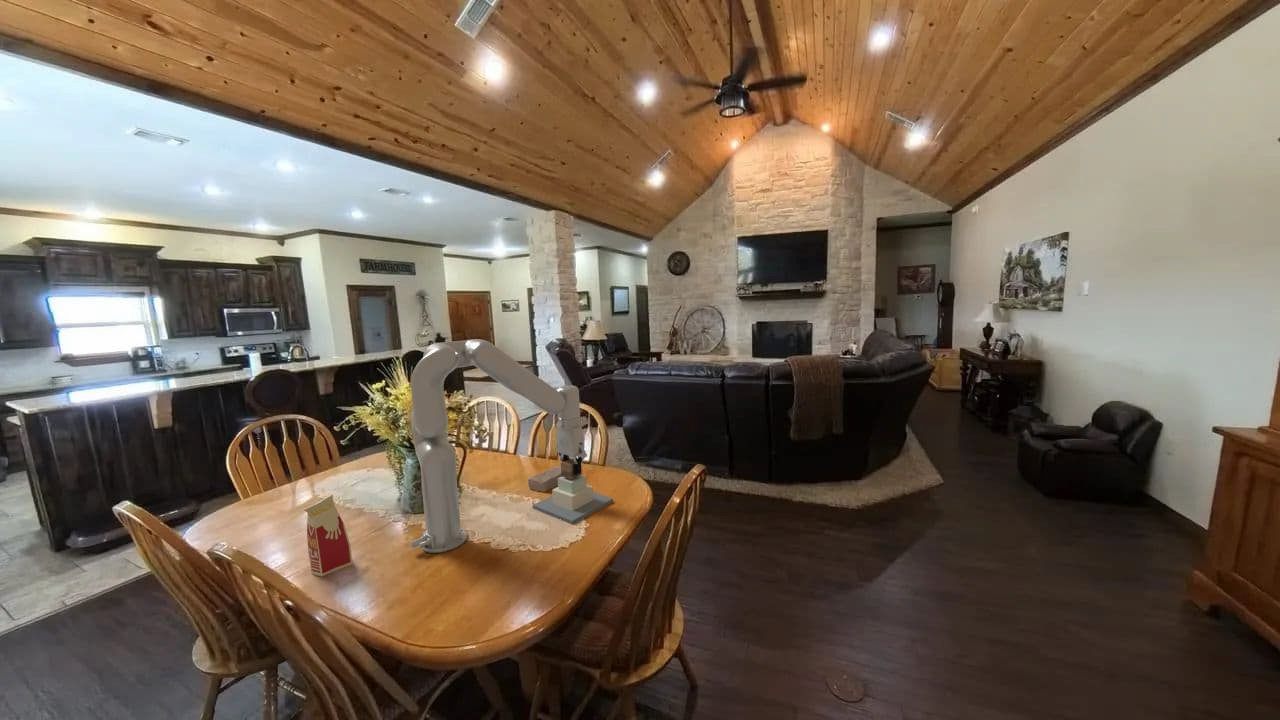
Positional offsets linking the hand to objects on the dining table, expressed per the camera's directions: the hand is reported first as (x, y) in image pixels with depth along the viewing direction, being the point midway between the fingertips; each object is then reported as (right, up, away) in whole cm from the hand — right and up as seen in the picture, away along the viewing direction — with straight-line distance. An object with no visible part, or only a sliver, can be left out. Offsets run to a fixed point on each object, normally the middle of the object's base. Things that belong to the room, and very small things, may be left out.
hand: (571, 471), depth 157 cm
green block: (0, -6, +1) cm, 6 cm away
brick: (-12, -10, +21) cm, 27 cm away
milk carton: (-63, -18, -32) cm, 73 cm away
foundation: (0, -12, +2) cm, 12 cm away
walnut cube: (0, -1, 0) cm, 1 cm away
